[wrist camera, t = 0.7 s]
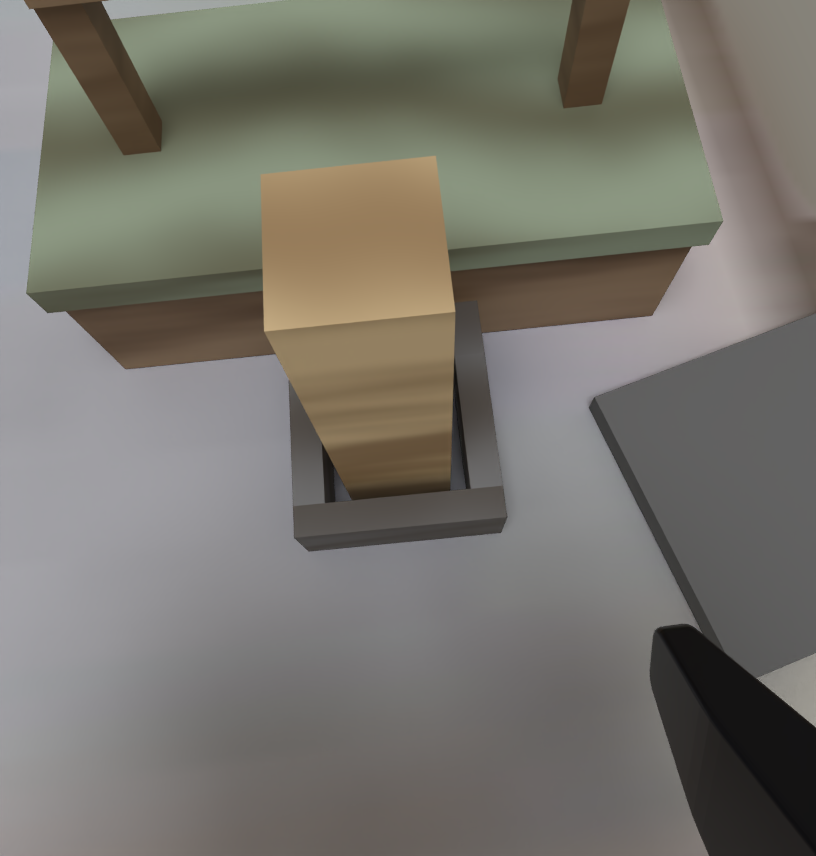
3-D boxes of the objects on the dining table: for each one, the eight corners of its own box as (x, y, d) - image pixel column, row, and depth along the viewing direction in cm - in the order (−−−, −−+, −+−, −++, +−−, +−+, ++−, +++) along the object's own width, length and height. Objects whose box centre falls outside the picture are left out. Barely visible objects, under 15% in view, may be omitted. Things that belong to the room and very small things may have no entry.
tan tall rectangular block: (450, 493, 25) (455, 311, 12) (353, 502, 25) (263, 331, 13) (440, 402, 26) (436, 156, 14) (347, 412, 26) (260, 174, 14)
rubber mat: (1006, 567, 23) (1030, 563, 22) (728, 683, 22) (741, 683, 21) (836, 313, 26) (850, 300, 25) (589, 407, 26) (594, 397, 25)
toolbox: (706, 512, 24) (970, 346, 12) (106, 570, 24) (-224, 466, 12) (609, 99, 30) (720, -288, 18) (129, 151, 30) (-78, -196, 18)
